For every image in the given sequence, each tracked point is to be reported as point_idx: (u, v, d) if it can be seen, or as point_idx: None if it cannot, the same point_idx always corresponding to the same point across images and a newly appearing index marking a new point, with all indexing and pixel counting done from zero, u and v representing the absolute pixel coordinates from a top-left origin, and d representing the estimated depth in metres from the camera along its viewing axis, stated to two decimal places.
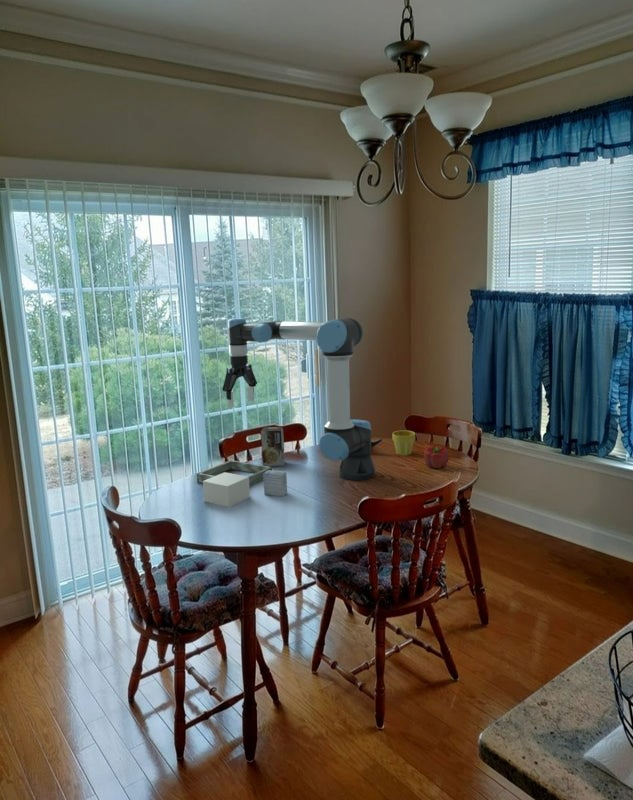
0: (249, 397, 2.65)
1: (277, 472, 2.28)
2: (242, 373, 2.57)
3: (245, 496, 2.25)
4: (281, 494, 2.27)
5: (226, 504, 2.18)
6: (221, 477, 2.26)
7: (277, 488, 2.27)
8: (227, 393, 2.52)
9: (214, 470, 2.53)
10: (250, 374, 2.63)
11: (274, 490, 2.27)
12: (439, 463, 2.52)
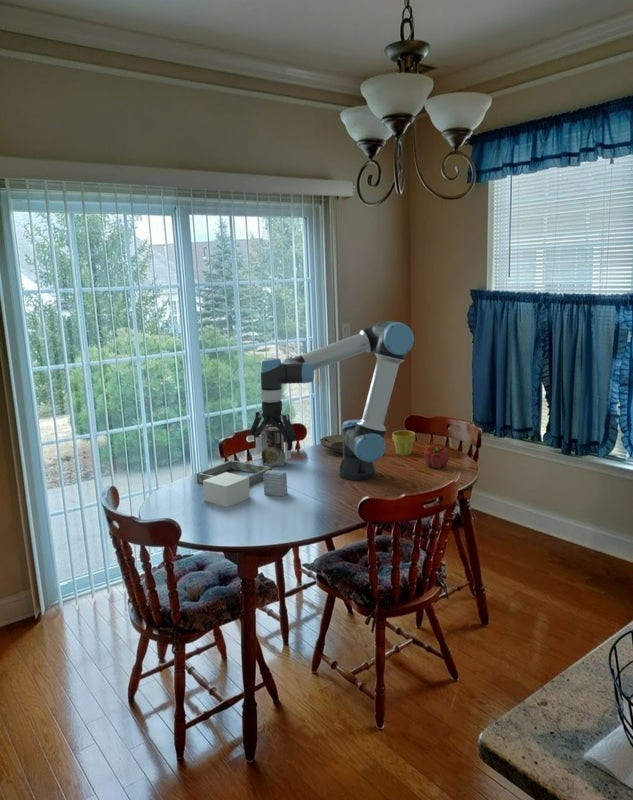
0: None
1: (277, 472, 2.28)
2: (271, 422, 2.23)
3: (245, 496, 2.25)
4: (281, 494, 2.27)
5: (225, 504, 2.18)
6: (221, 477, 2.26)
7: (277, 488, 2.27)
8: None
9: (214, 470, 2.53)
10: None
11: (274, 490, 2.27)
12: (439, 463, 2.52)
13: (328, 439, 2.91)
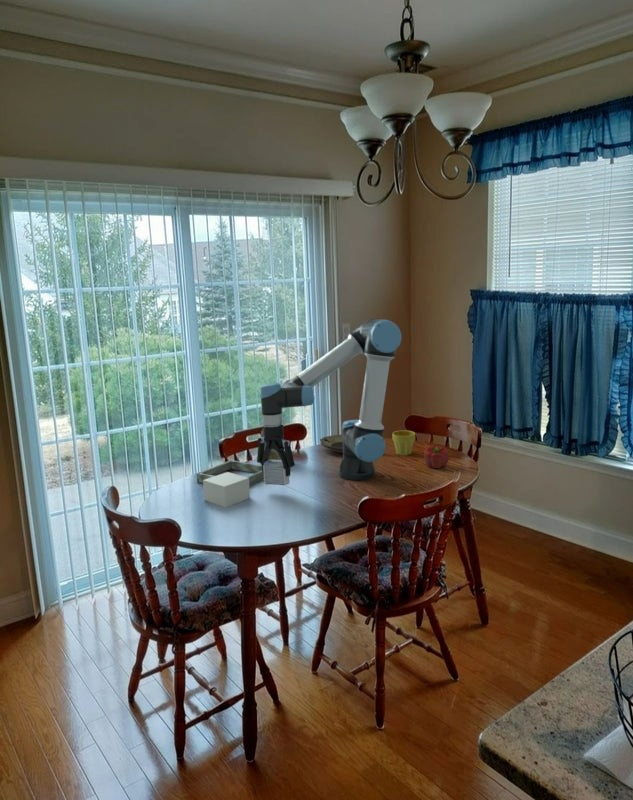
0: None
1: (278, 461, 2.27)
2: (273, 446, 2.25)
3: (244, 497, 2.25)
4: (282, 483, 2.26)
5: (223, 504, 2.18)
6: (221, 477, 2.27)
7: (278, 477, 2.26)
8: None
9: (214, 470, 2.53)
10: None
11: (275, 479, 2.27)
12: (439, 463, 2.52)
13: (328, 439, 2.91)
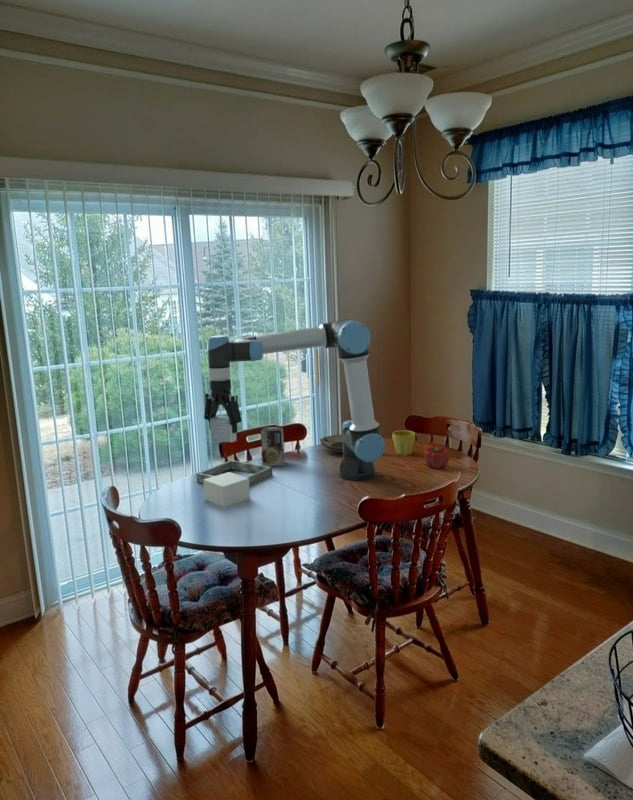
0: None
1: (225, 417, 2.20)
2: (220, 401, 2.18)
3: (244, 497, 2.24)
4: (229, 440, 2.19)
5: (222, 504, 2.18)
6: (222, 477, 2.27)
7: (224, 433, 2.19)
8: None
9: (214, 470, 2.53)
10: None
11: (221, 436, 2.19)
12: (439, 463, 2.52)
13: (328, 439, 2.91)
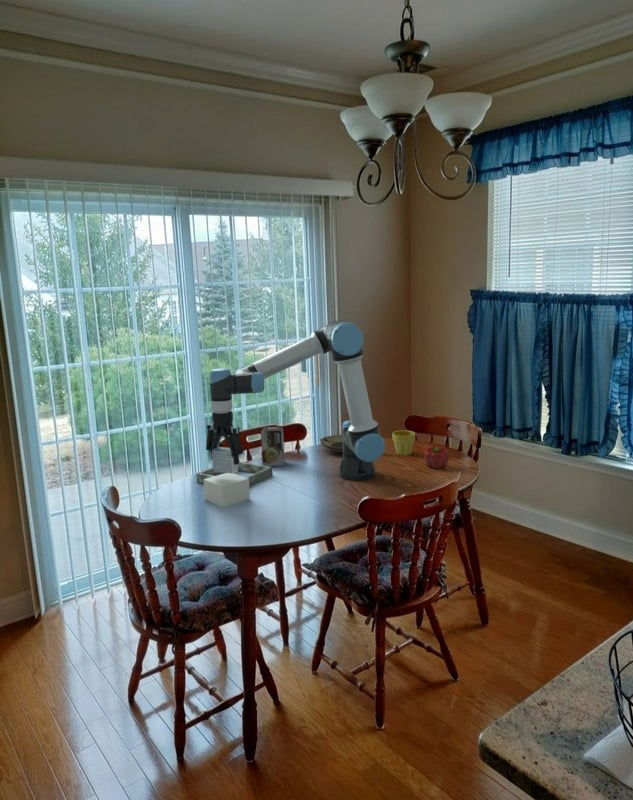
0: None
1: (226, 449, 2.22)
2: (222, 433, 2.20)
3: (244, 497, 2.24)
4: (230, 471, 2.21)
5: (221, 504, 2.18)
6: (222, 477, 2.27)
7: (226, 465, 2.21)
8: None
9: None
10: None
11: (223, 467, 2.22)
12: (439, 463, 2.52)
13: (328, 439, 2.91)
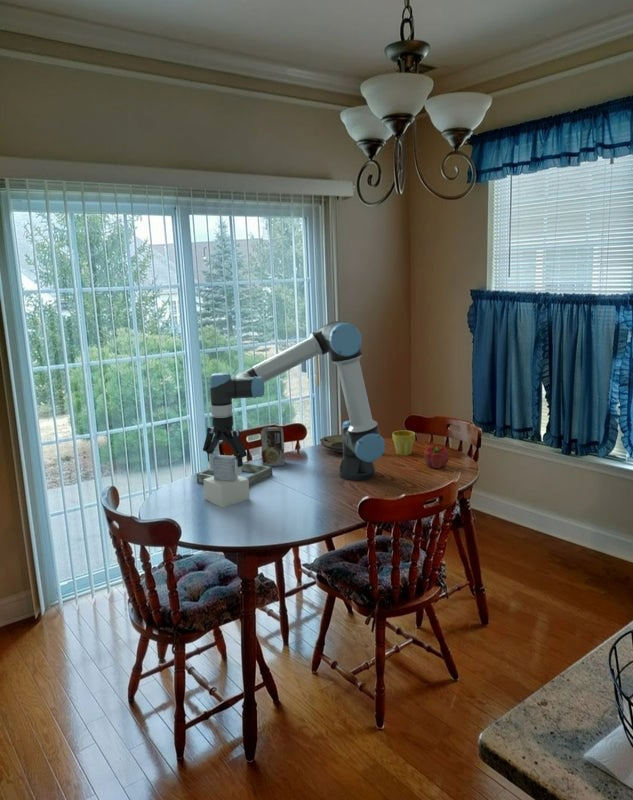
0: None
1: (227, 456, 2.23)
2: (222, 437, 2.20)
3: (243, 498, 2.24)
4: (230, 479, 2.21)
5: (220, 504, 2.18)
6: None
7: (226, 473, 2.21)
8: None
9: None
10: None
11: (223, 475, 2.22)
12: (439, 463, 2.52)
13: (328, 439, 2.91)
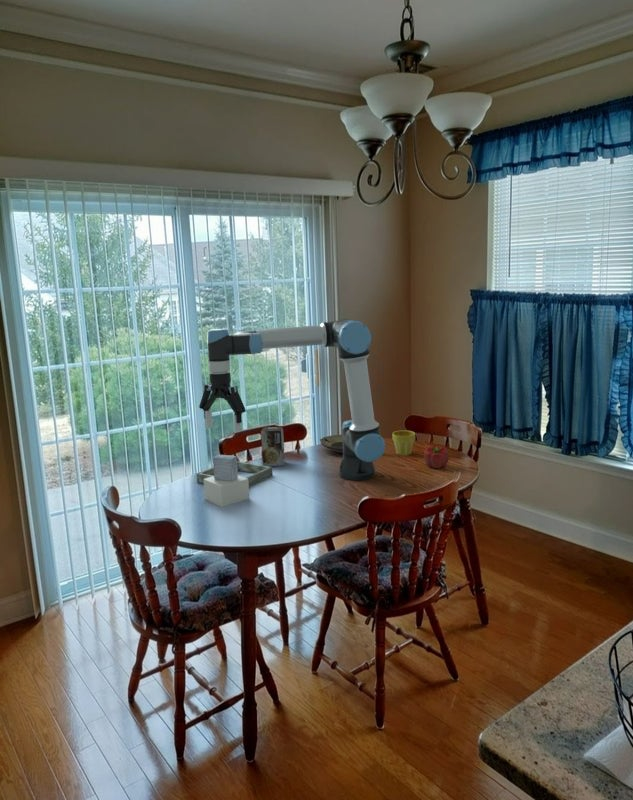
0: None
1: (227, 456, 2.23)
2: (220, 394, 2.17)
3: (243, 498, 2.24)
4: (230, 479, 2.21)
5: (220, 504, 2.19)
6: None
7: (226, 473, 2.22)
8: None
9: None
10: None
11: (223, 475, 2.22)
12: (439, 463, 2.52)
13: (328, 439, 2.91)
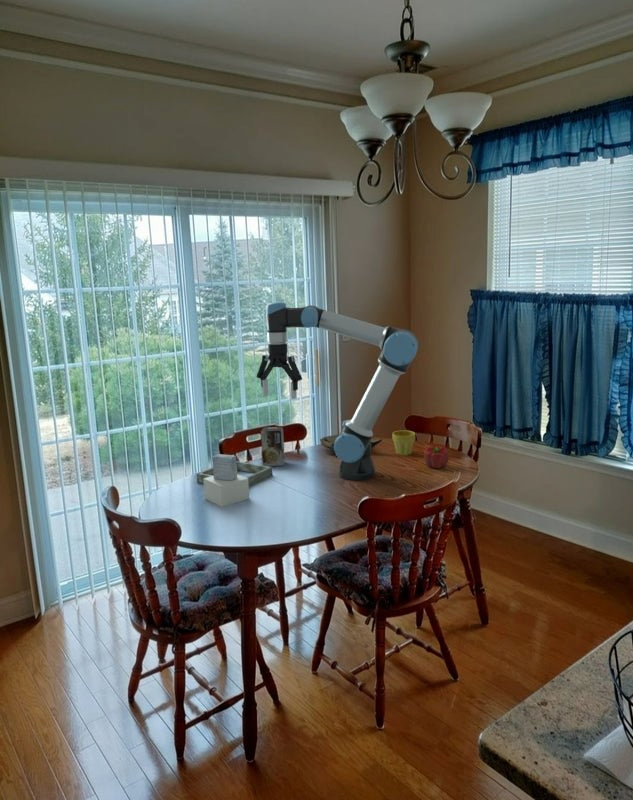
0: None
1: (226, 456, 2.23)
2: (278, 364, 2.33)
3: (243, 497, 2.24)
4: (230, 478, 2.22)
5: (220, 504, 2.19)
6: None
7: (226, 472, 2.22)
8: None
9: None
10: None
11: (223, 474, 2.23)
12: (439, 463, 2.52)
13: (328, 439, 2.91)
